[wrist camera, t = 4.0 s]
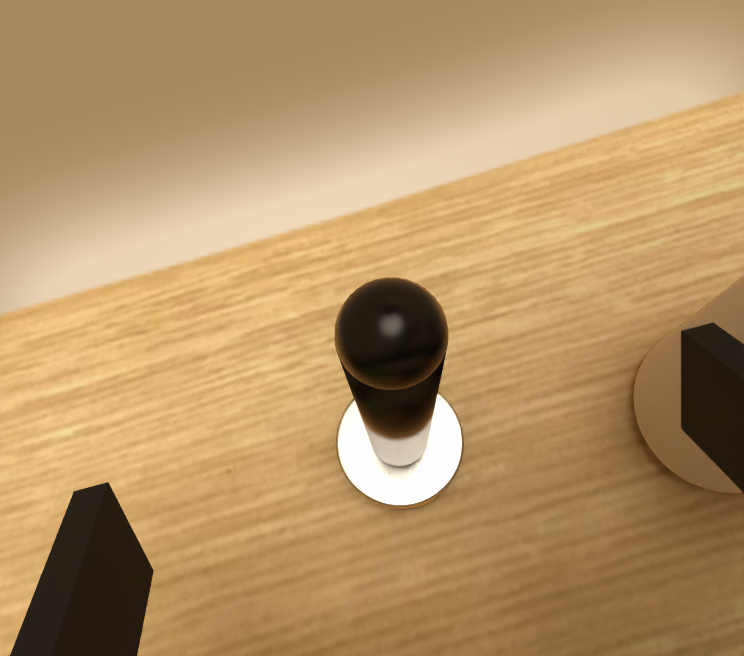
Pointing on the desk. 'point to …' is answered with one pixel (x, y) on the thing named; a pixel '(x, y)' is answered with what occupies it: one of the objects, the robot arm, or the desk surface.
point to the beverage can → (663, 395)
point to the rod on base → (396, 395)
